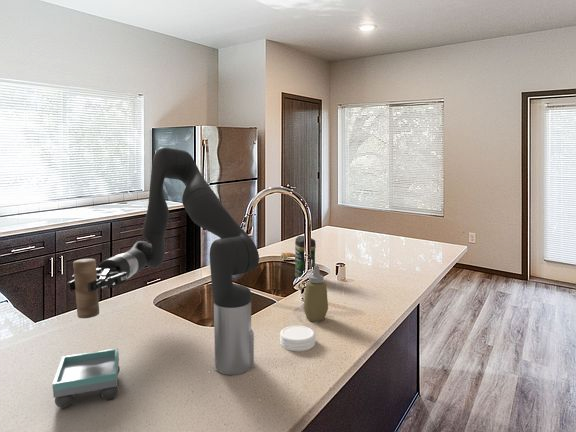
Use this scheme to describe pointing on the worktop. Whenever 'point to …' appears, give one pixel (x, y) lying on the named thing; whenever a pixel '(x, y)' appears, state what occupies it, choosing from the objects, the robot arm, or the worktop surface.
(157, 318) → the worktop surface
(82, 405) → the worktop surface
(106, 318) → the worktop surface
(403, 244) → the worktop surface
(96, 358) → the wheeled cart
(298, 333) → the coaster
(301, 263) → the coffee jar
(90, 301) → the cylinder
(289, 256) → the pastry
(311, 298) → the squeeze bottle
